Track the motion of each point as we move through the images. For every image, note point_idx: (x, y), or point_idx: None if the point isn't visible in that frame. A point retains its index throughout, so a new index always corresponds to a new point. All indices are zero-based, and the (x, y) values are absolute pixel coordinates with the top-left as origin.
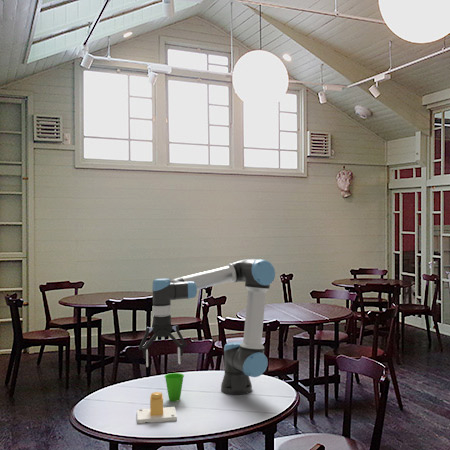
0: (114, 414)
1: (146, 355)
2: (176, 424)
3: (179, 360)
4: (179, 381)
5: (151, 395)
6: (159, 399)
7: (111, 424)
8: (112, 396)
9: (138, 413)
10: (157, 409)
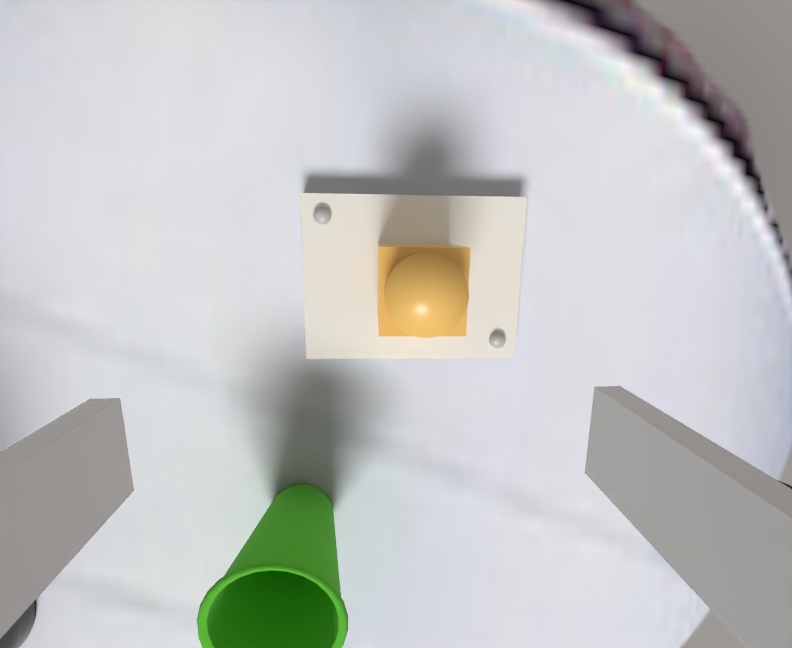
0: (622, 355)
1: (783, 489)
2: (308, 134)
3: (59, 426)
4: (242, 559)
5: (465, 281)
6: (405, 247)
7: (650, 217)
8: (608, 597)
9: (513, 294)
10: (413, 244)
